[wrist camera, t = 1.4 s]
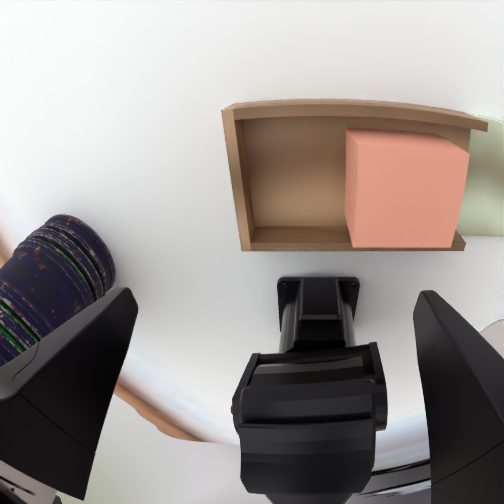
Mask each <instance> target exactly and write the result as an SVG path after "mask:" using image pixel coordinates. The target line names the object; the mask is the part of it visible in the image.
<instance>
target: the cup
mask: <svg viewBox="0 0 504 504" xmlns="http://www.w3.org/2000/svg"><path fill="white" fill-rule="evenodd" d="M480 334H481V335H482V336H483V337H484V338H485V339H486V340H487V341H488V342H489V343H490V344H491V346H492V347H493V348H494V349H495V350H496V351H497V352H498V353H499V354H500V355H501V356H502V357H503V358H504V319H503V320H499V321H497V322H495V323H493V324H491V325H490V326H488V327H487V328H486V329H484V330H483V331H482V332H481V333H480Z"/></svg>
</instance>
